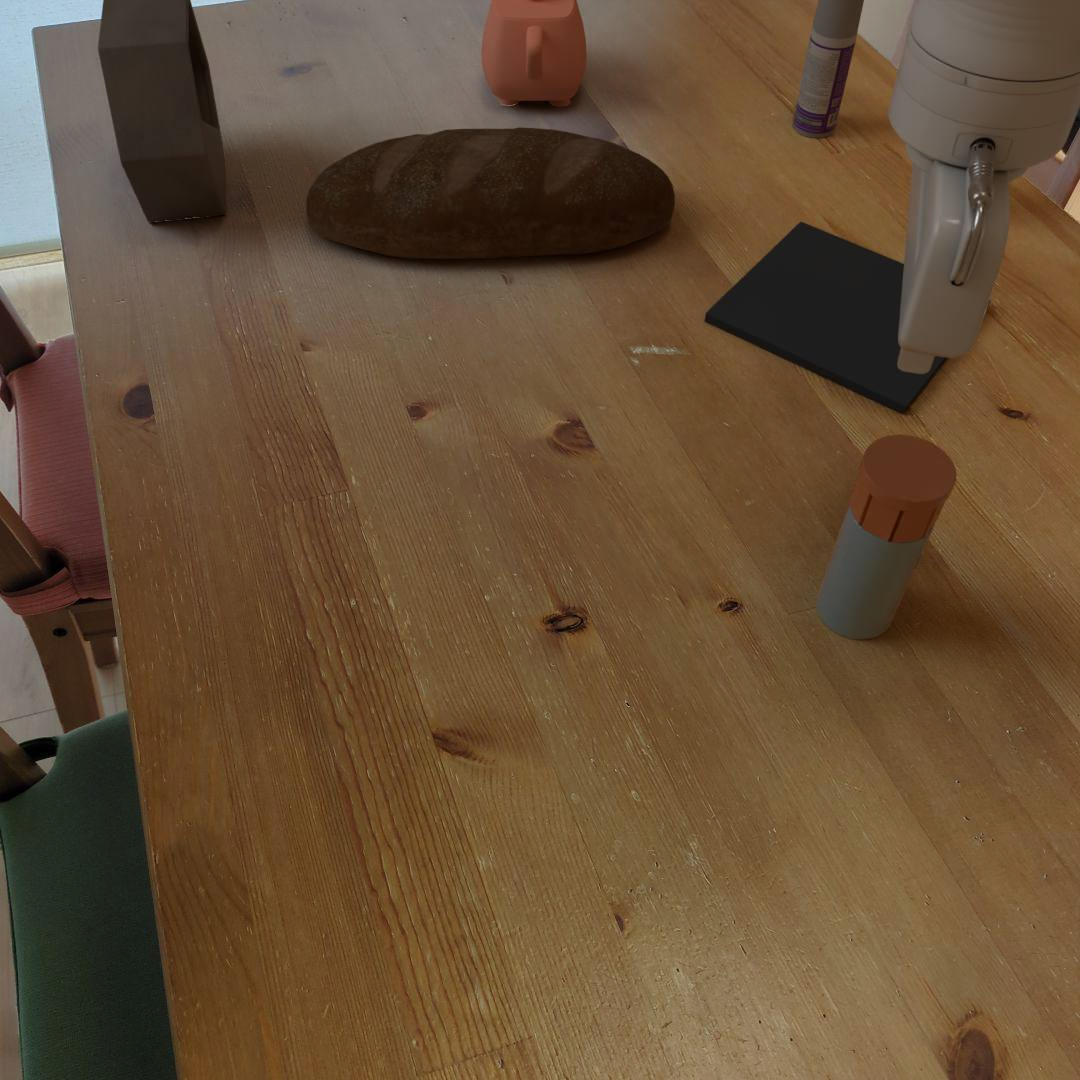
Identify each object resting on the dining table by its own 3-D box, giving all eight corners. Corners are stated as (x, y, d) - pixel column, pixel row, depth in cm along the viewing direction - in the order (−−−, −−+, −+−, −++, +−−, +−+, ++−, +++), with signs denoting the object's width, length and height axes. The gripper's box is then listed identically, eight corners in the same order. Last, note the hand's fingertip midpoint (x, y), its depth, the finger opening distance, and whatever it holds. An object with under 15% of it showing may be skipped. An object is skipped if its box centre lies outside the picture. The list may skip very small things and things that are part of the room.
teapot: (588, 131, 123) (593, 23, 113) (480, 130, 122) (476, 22, 113) (582, 42, 135) (586, -62, 126) (484, 41, 135) (481, -63, 126)
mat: (987, 308, 104) (991, 299, 103) (903, 414, 95) (907, 406, 94) (798, 229, 111) (800, 220, 111) (703, 321, 102) (705, 312, 102)
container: (822, 112, 126) (852, -24, 114) (842, 134, 123) (875, -4, 111) (785, 119, 125) (811, -18, 113) (804, 141, 122) (833, 3, 110)
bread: (681, 265, 108) (692, 189, 101) (303, 274, 106) (288, 197, 99) (662, 174, 117) (670, 99, 111) (315, 181, 116) (303, 105, 109)
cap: (951, 504, 74) (971, 461, 70) (914, 559, 71) (932, 516, 68) (872, 465, 76) (887, 421, 73) (832, 516, 73) (846, 473, 70)
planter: (217, 216, 104) (174, -29, 97) (132, 224, 103) (83, -22, 96) (235, 214, 120) (198, 4, 113) (161, 221, 119) (120, 10, 112)
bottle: (905, 602, 82) (963, 474, 71) (871, 653, 79) (926, 527, 69) (837, 566, 84) (884, 436, 73) (802, 614, 81) (844, 485, 71)
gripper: (1059, 222, 48) (968, 444, 59) (1046, 5, 61) (972, 221, 72) (911, 202, 49) (847, 424, 60) (928, -7, 62) (873, 208, 73)
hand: (915, 312), depth 66 cm, fingers open, 8 cm apart
